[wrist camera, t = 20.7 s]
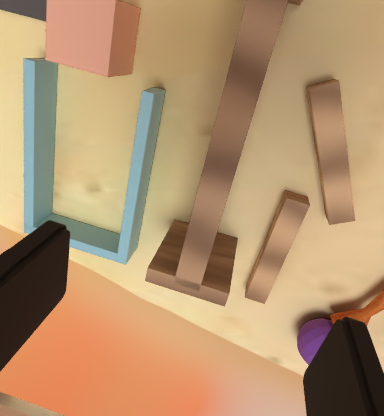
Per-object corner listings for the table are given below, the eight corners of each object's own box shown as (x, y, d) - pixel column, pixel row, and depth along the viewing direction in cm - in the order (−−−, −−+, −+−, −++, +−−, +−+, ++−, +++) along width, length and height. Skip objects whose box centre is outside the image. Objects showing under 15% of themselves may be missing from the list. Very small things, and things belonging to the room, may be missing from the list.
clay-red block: (83, -6, 32) (47, -19, 27) (140, 8, 32) (115, -1, 26) (78, 59, 35) (45, 59, 30) (131, 73, 35) (107, 76, 29)
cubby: (47, 58, 35) (23, 58, 32) (165, 90, 34) (154, 94, 31) (43, 218, 44) (24, 232, 41) (137, 247, 43) (125, 264, 40)
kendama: (485, 288, 32) (329, 388, 40) (444, 252, 38) (313, 347, 45) (451, 257, 31) (294, 368, 38) (413, 225, 36) (282, 327, 43)
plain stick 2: (306, 86, 32) (309, 88, 30) (333, 79, 31) (338, 80, 29) (325, 214, 37) (329, 224, 35) (349, 210, 36) (355, 220, 34)
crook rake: (233, -33, 29) (218, -76, 20) (323, -12, 28) (352, -46, 19) (172, 230, 41) (145, 280, 32) (233, 249, 41) (224, 306, 31)
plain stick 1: (285, 189, 37) (286, 197, 34) (307, 196, 36) (309, 205, 34) (246, 284, 43) (245, 297, 41) (264, 290, 43) (264, 303, 40)
